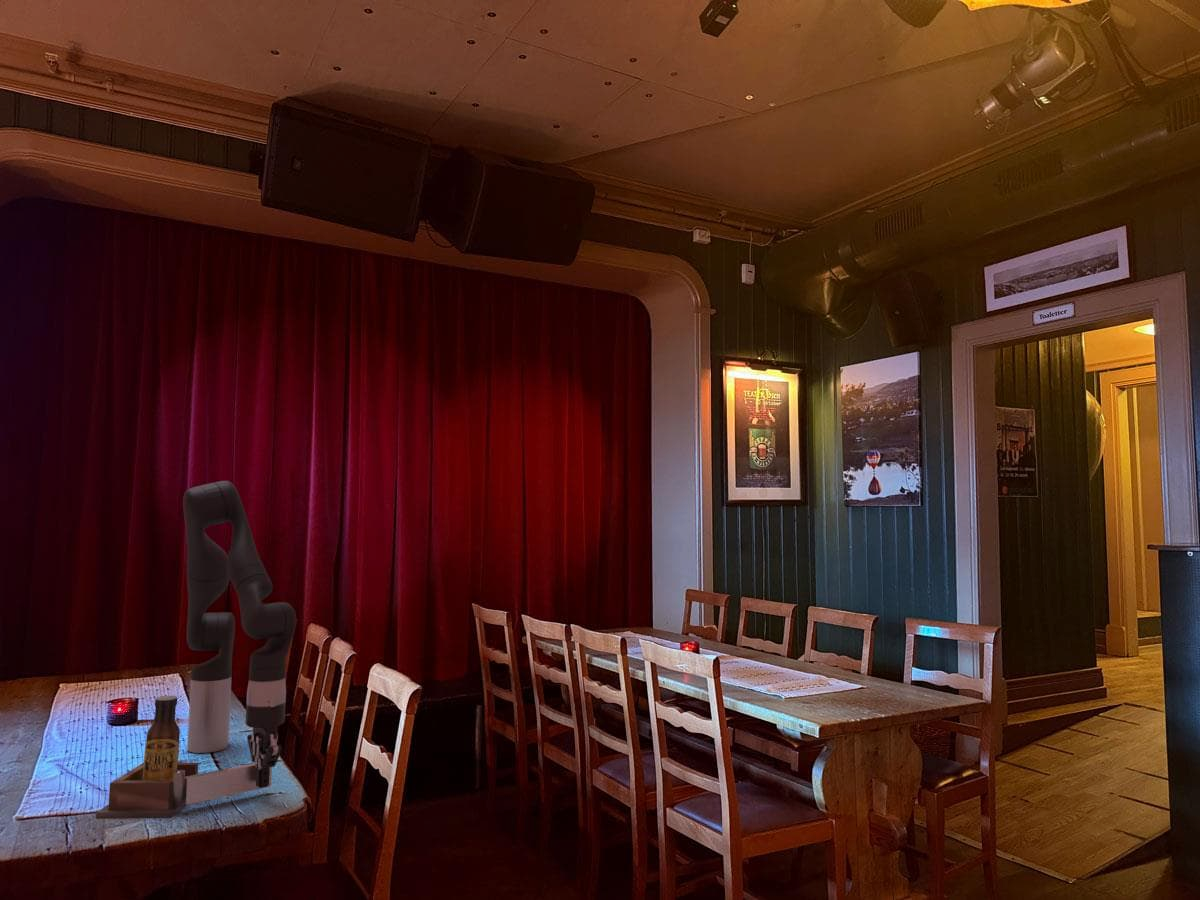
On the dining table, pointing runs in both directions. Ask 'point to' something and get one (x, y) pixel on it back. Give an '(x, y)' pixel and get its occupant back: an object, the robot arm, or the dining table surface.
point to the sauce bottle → (162, 742)
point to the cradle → (142, 795)
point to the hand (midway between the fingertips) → (262, 786)
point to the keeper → (213, 784)
